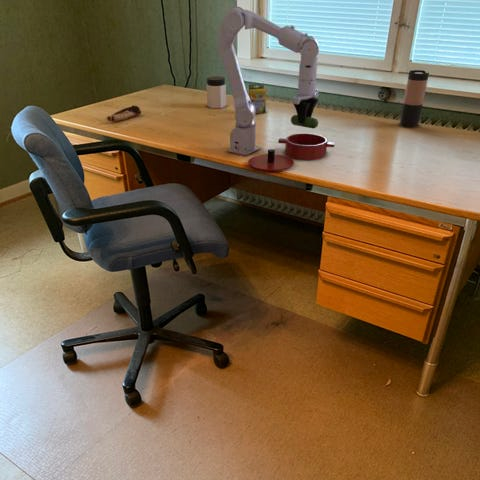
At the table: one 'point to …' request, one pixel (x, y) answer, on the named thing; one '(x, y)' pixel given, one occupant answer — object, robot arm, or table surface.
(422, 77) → the travel mug
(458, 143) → the table surface
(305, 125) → the cucumber
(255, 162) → the lid
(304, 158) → the pot
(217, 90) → the jar
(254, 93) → the crayon box
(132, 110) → the lashed bone hook
